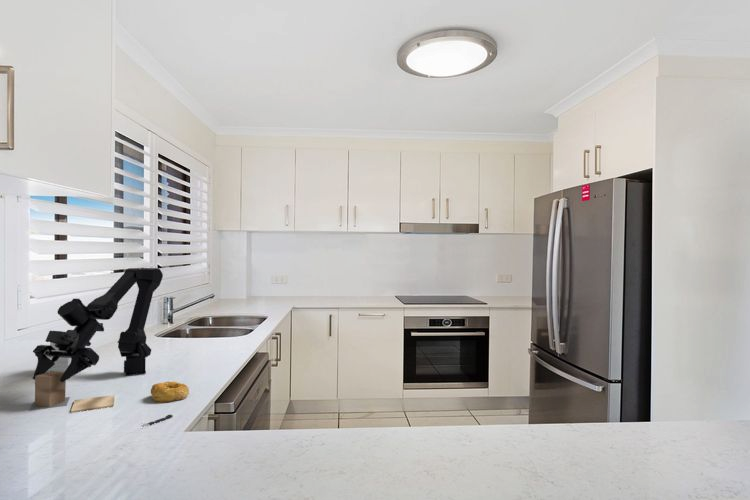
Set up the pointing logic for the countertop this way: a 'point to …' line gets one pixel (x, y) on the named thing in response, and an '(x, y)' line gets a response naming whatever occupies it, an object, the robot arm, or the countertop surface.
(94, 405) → the coaster
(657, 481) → the countertop surface
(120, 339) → the robot arm
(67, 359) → the supplement box
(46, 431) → the countertop surface
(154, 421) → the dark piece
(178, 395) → the bagel
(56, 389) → the walnut block
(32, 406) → the gray mat
